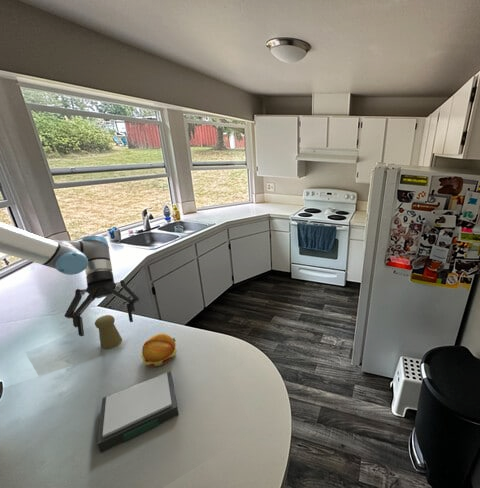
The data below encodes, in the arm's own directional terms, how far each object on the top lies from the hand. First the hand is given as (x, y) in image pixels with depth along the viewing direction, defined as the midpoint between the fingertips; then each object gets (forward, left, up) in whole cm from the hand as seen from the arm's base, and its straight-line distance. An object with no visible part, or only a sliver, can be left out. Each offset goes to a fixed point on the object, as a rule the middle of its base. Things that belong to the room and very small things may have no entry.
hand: (107, 328), depth 88 cm
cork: (0, 0, -7) cm, 7 cm away
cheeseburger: (+14, -18, -7) cm, 24 cm away
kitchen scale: (+8, -36, -6) cm, 38 cm away
